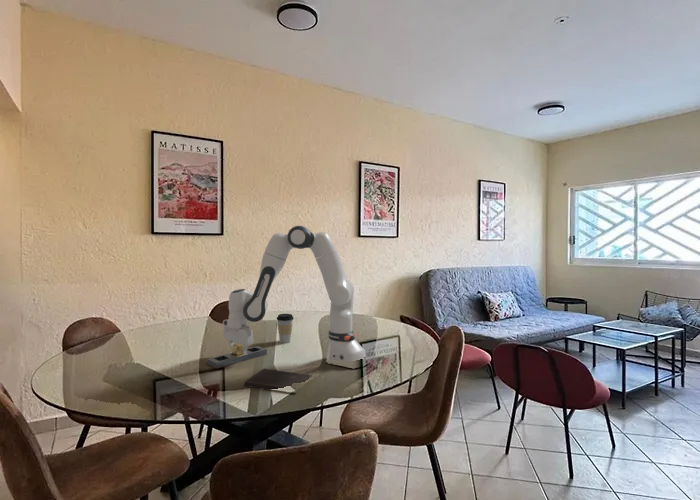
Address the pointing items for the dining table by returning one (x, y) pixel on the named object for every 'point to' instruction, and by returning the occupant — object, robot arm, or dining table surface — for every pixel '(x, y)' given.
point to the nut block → (237, 349)
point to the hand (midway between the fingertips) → (238, 351)
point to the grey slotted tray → (236, 357)
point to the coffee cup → (285, 327)
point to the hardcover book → (275, 379)
